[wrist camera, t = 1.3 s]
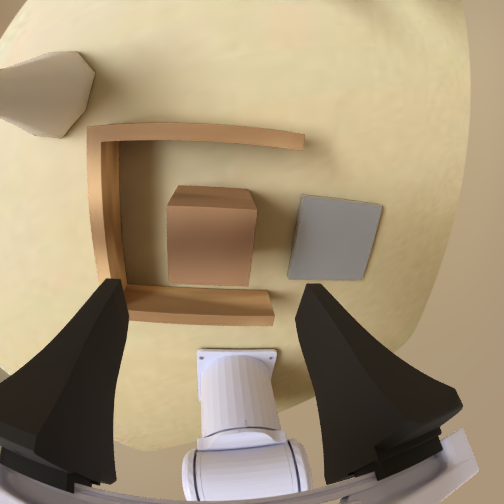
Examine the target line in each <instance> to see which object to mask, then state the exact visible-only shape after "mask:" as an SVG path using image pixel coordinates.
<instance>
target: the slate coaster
mask: <svg viewBox="0 0 504 504" xmlns="http://www.w3.org/2000/svg"><path fill="white" fill-rule="evenodd" d="M382 207H383V206H381V205H380V204H375V203H368V202H361V201H354V200H346V199H339V198H331V197H322V196H314V195H305V194H302V195H301V201H300V207H299V213H298V219H297V224H296V230H295V236H294V241H293V247H292V252H291V258H290V263H289V268H288V274H287V276H288V279H295V280H362V278H363V275H364V272H365V269H366V265H367V262H368V259H369V256H370V252H371V249H372V245H373V242H374V238H375V234H376V231H377V227H378V223H379V219H380V215H381V211H382Z"/></svg>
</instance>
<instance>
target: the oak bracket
mask: <svg viewBox="0 0 504 504" xmlns="http://www.w3.org/2000/svg"><path fill="white" fill-rule="evenodd" d="M304 139H305V134H300V133H294V132H288V131H280V130H273V129H264V128H255V127H245V126H234V125H220V124H201V123H129V124H111V125H99V126H89V127H87V183H88V200H89V212H90V223H91V232H92V240H93V247H94V254H95V261H96V267H97V273H98V278H99V284H100V285H101V284H102V283H103V281H104V280H105V279H106V278H113V279H121V282H122V287H123V291H124V296H125V300H126V304H127V308H128V312H129V320H131V321H143V322H156V323H172V324H191V325H218V326H273V322H274V317H275V315H274V312H273V308H272V305H271V301H270V298H269V295H268V291H267V290H237V289H208V288H185V287H165V286H148V285H133V284H127V278H126V270H125V261H124V252H123V241H122V229H121V214H120V190H119V143H120V141H128V140H188V141H211V142H227V143H240V144H251V145H261V146H271V147H279V148H287V149H295V150H302V151H303V146H304Z"/></svg>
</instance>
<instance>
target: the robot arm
mask: <svg viewBox="0 0 504 504" xmlns="http://www.w3.org/2000/svg"><path fill="white" fill-rule="evenodd" d="M295 322H296V328H297V333H298V339H299V343H300V346H301V349H302V352H303V355H304V359H305V362H306V365H307V368H308V371H309V374H310V378H311V381H312V384H313V387H314V391H315V395H316V400H317V406H318V412H319V418H320V425H321V432H322V441H323V453H324V477H325V481H326V484H327V485H328V484H332V483H336V482H339V481H343V480H347V479H350V478H353V477H355V478H353V479H350V480H347V481H343V482H340V483H336V484H333V485H329V486H325V487H321V488H317V489H312V487H313V486H312V475H311V469H310V464H309V460H308V457H307V454H306V451H305V449H304V447H303V445H302V444H301V443H299V442H297V440H296V439H288V440H287V437H286V432H285V430H281V427H280V422H279V417H278V412H277V408H276V403H275V399H274V394H273V389H272V385H271V377H272V373H273V369H274V365H275V361H276V357H277V351H276V350H275V349H255V350H227V349H199V350H198V351H197V372H198V392H199V402H201V418H202V438H198V439H197V448H192V449H190V450H189V452H188V453H187V454H186V455H185V456H184V459H183V464H182V482H183V489H184V493H185V497H186V500H187V501H179V500H165V499H155V498H146V497H138V496H132V495H126V494H119V493H115V492H110V491H105V490H101V489H96V488H92V484H96V485H100V483H105V484H112V483H114V482H115V481H116V479H117V478H116V471H115V461H114V445H113V413H114V397H115V389H116V383H117V378H118V374H119V369H120V364H121V360H122V356H123V351H124V347H125V343H126V338H127V331H128V323H129V312H128V308H127V304H126V300H125V296H124V291H123V287H122V282H121V279H113V278H106V279H105V280H104V281H103V283H102V284H101V285H100V286H99V287H98V288H97V290H96V291H95V292H94V293H93V294H92V296H91V297H90V298H89V299H88V300H87V302H86V303H85V304H84V305H83V306H82V307H81V309H80V310H79V311H78V312H77V313H76V315H75V316H74V317H73V318H72V319H71V320H70V321H69V323H68V324H67V325H66V326H65V327H64V328H63V329H62V330H61V331H60V333H59V334H58V335H57V336H56V337H55V338H54V339H53V340H52V341H51V342H50V343H49V344H48V345H47V346H46V347H45V348H44V349H43V350H42V351H40V352H39V353H38V354H37V355H36V356H35V357H34V358H32V359H31V360H30V361H29V362H28V363H26V364H25V365H24V366H23V367H22V368H20V369H19V370H18V371H16V372H15V373H14V374H13V375H11V376H10V377H8V378H7V379H6V380H4V381H3V382H1V383H0V445H1V446H2V450H1V452H0V504H320V503H324V502H328V501H332V500H335V499H339V498H342V497H343V498H342V499H341V501H340V503H339V504H439V503H440V502H442V501H443V500H444V499H445V498H446V497H448V496H449V495H450V494H451V493H453V492H454V491H455V490H456V489H457V488H459V487H460V486H461V485H462V484H464V483H465V482H466V481H467V480H469V479H470V478H471V477H472V476H474V475H475V474H476V473H477V472H478V471H479V469H478V466H477V463H476V460H475V458H474V455H473V452H472V450H471V447H470V444H469V442H468V440H467V437H466V435H465V432H464V430H463V428H461V429H459V430H457V431H456V432H454V433H452V434H450V435H449V436H447V437H445V438H443V439H442V440H439V437H438V435H440V434H441V429H440V426H441V425H442V424H444V423H445V422H447V421H448V420H449V419H451V418H452V417H453V416H455V415H456V414H457V413H458V412H459V411H460V410H461V409H462V407H463V404H462V402H461V400H460V398H459V396H458V394H457V392H456V390H455V389H454V388H452V387H450V386H448V385H446V384H443V383H441V382H439V381H437V380H435V379H433V378H431V377H429V376H427V375H425V374H424V373H422V372H420V371H419V370H417V369H415V368H414V367H412V366H410V365H409V364H408V363H406V362H405V361H403V360H402V359H400V358H399V357H397V356H396V355H395V354H393V353H392V352H391V351H390V350H388V349H387V348H386V347H385V346H383V345H382V344H381V343H380V342H378V341H377V340H376V339H375V338H374V337H373V336H372V335H371V334H370V333H368V332H367V331H366V330H365V329H364V328H363V327H362V326H361V325H360V324H359V323H358V322H357V321H356V320H355V319H354V318H353V317H352V316H351V315H350V314H349V313H348V312H347V311H346V310H345V309H344V308H343V307H342V305H341V304H340V303H339V302H338V301H337V300H336V299H335V298H334V297H333V296H332V295H331V294H330V293H329V292H328V291H327V290H326V288H325V287H324V286H323V285H322V284H306V287H305V290H304V293H303V296H302V299H301V302H300V305H299V308H298V311H297V314H296V317H295ZM201 356H202V357H201Z"/></svg>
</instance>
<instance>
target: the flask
mask: <svg viewBox="0 0 504 504" xmlns="http://www.w3.org/2000/svg"><path fill="white" fill-rule="evenodd" d="M94 76H95V72H94V71H93V70H92V69H91V67H90V66H89V65H88V64H87V63H86V61H85V60H84V59H83V58H82V57H81V55H80V54H79V53H78V52H77V51H75V52H52V53H46V54H43V55H40V56H37V57H35V58H32V59H30V60H27V61H24V62H21V63H18V64H15V65H13V66H10V67H7V68H4V69H0V118H1V119H3V120H5V121H7V122H9V123H12V124H14V125H16V126H18V127H20V128H21V129H23V130H25V131H27V132H29V133H30V134H33V135H35V136H44V137H54V138H62V137H63V136H64V135H65V134H66V132H67V131H68V130H69V129H70V128H71V126H72V125H73V124H74V123H75V122H76V121H77V119H78V118H79V117H80V116H81V115H82V114H83V113H84V112H85V111H86V107H87V102H88V98H89V94H90V91H91V87H92V83H93V80H94Z"/></svg>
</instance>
